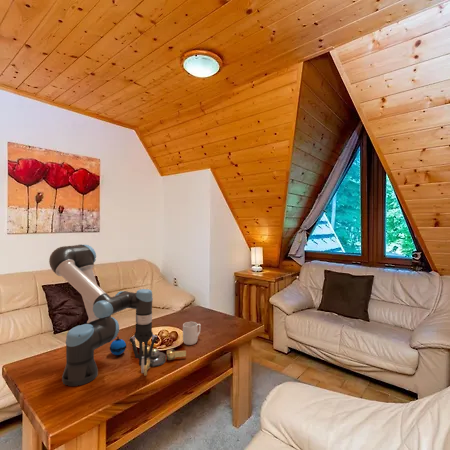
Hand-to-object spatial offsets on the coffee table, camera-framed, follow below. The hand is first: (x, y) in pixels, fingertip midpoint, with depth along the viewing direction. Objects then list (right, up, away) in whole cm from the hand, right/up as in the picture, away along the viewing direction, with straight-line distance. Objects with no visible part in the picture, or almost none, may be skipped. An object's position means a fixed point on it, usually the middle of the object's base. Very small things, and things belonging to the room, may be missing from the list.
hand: (142, 371), depth 136 cm
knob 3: (+13, -1, +17) cm, 21 cm away
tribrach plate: (+2, -2, +14) cm, 14 cm away
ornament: (-20, -2, +22) cm, 30 cm away
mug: (+19, -2, +38) cm, 43 cm away
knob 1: (-6, -1, +23) cm, 23 cm away
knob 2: (0, -1, +3) cm, 3 cm away
